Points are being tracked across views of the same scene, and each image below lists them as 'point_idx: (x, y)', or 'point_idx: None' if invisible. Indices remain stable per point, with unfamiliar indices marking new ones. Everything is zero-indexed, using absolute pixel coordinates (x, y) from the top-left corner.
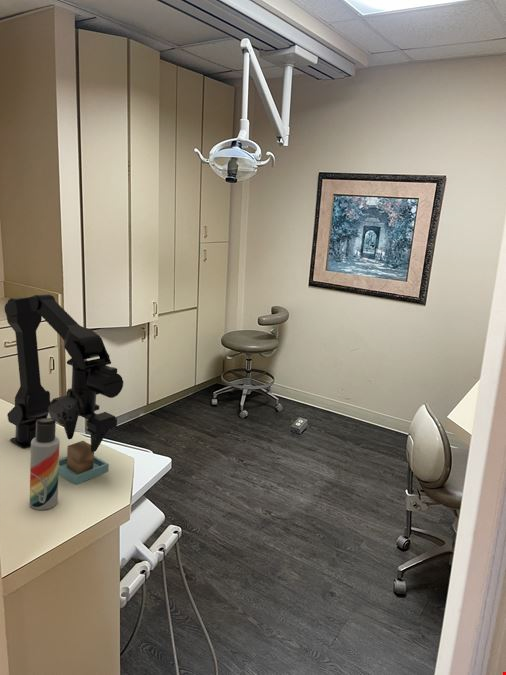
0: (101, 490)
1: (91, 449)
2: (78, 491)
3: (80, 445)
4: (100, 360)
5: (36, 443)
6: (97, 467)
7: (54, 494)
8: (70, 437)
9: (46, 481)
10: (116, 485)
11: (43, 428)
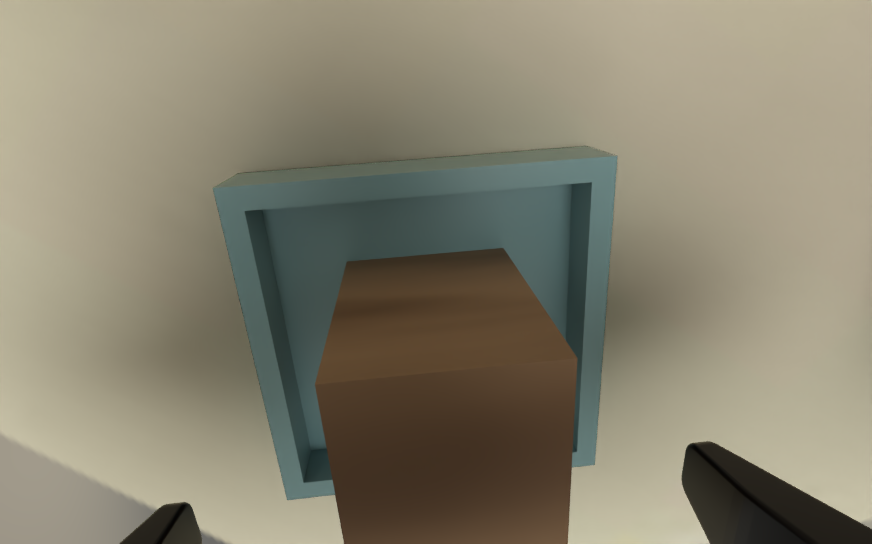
0: (49, 285)
1: (157, 531)
2: (122, 134)
3: (478, 476)
4: None
5: None
6: (279, 414)
7: None
8: (697, 480)
9: None
10: (73, 401)
11: None
